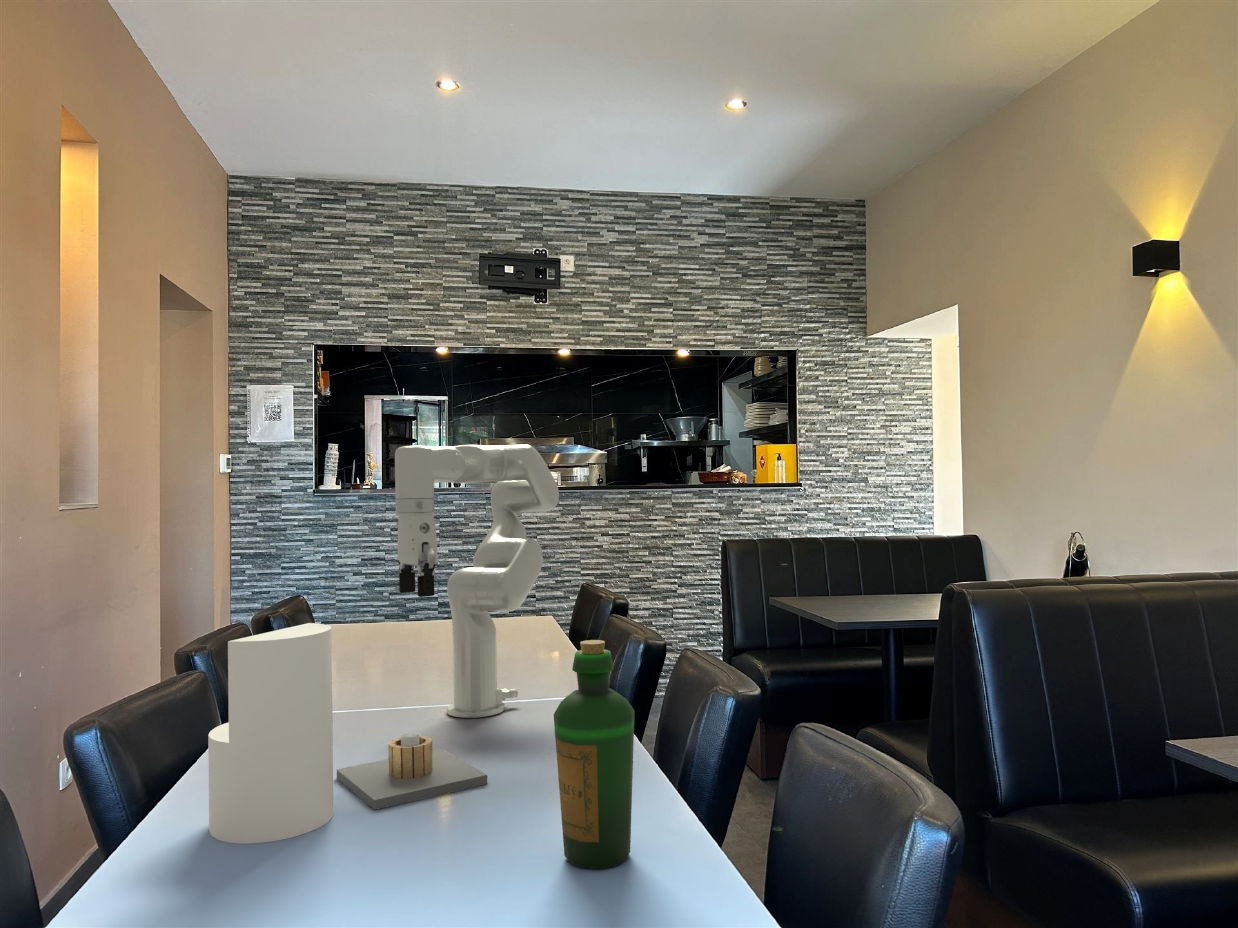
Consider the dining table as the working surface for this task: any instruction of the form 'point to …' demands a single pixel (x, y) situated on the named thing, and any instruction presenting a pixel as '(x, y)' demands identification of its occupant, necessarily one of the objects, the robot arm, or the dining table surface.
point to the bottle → (595, 763)
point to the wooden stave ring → (410, 759)
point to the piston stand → (389, 791)
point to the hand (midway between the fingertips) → (416, 594)
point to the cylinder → (274, 738)
